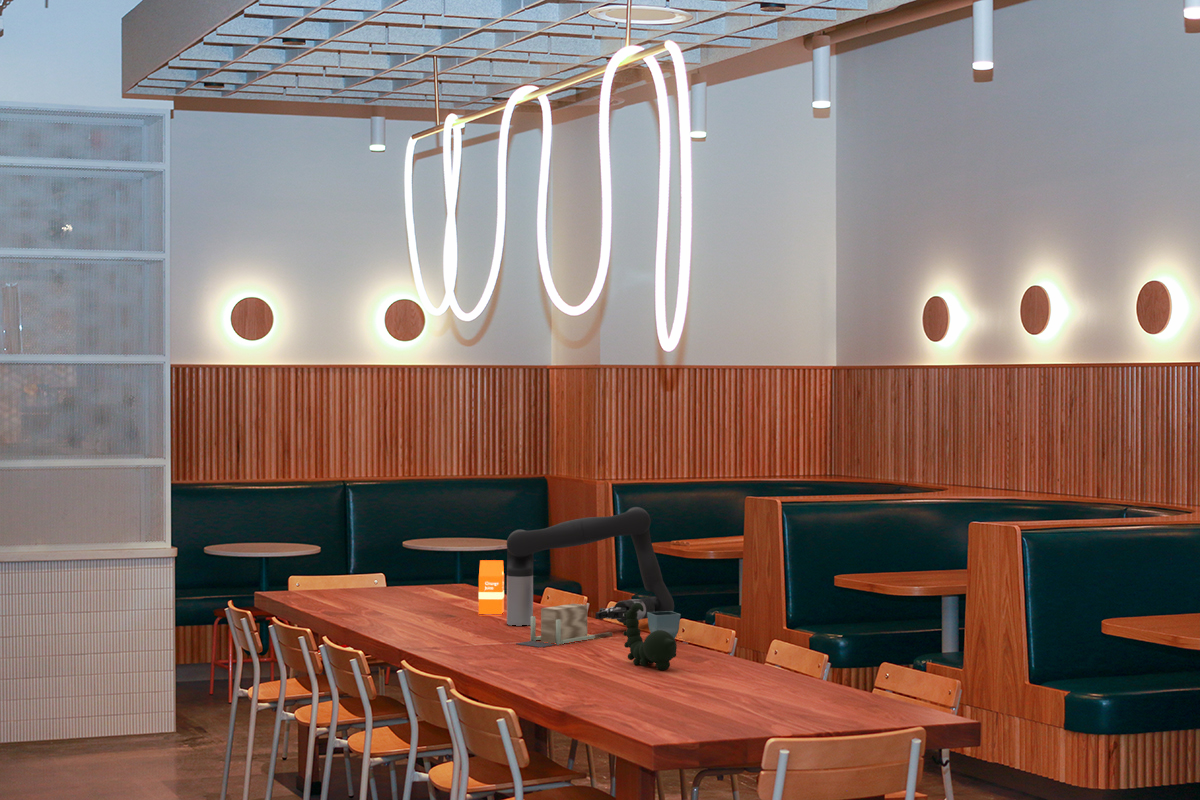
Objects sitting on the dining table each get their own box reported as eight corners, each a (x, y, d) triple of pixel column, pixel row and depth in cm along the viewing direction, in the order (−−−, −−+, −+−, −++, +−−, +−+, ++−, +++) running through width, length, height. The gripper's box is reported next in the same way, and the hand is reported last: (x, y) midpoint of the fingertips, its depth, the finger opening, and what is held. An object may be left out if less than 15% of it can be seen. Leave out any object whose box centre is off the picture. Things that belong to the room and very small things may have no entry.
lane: (583, 632, 464) (583, 628, 464) (612, 636, 456) (612, 632, 456) (566, 635, 457) (566, 631, 457) (594, 639, 449) (594, 635, 449)
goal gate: (566, 635, 457) (566, 611, 457) (594, 639, 449) (594, 614, 449) (529, 641, 443) (529, 616, 444) (558, 645, 435) (558, 620, 435)
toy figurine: (616, 667, 404) (661, 673, 382) (614, 603, 406) (658, 604, 384) (644, 665, 409) (689, 670, 387) (641, 601, 411) (686, 602, 389)
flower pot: (646, 639, 449) (646, 611, 449) (671, 638, 452) (671, 610, 452) (655, 643, 441) (655, 615, 441) (681, 642, 443) (681, 614, 444)
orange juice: (502, 615, 506) (502, 561, 507) (478, 615, 507) (478, 561, 507) (504, 612, 514) (504, 559, 515) (480, 612, 514) (480, 559, 515)
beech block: (573, 636, 455) (573, 603, 455) (587, 638, 451) (587, 605, 451) (540, 642, 442) (541, 608, 443) (554, 644, 438) (554, 609, 439)
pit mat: (530, 641, 443) (530, 640, 443) (556, 645, 436) (556, 644, 436) (515, 644, 437) (515, 643, 437) (541, 647, 430) (541, 646, 430)
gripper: (615, 598, 477) (582, 603, 464) (644, 601, 468) (612, 606, 455) (615, 619, 477) (582, 625, 464) (644, 623, 468) (612, 628, 455)
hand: (597, 615), depth 459 cm, fingers closed
